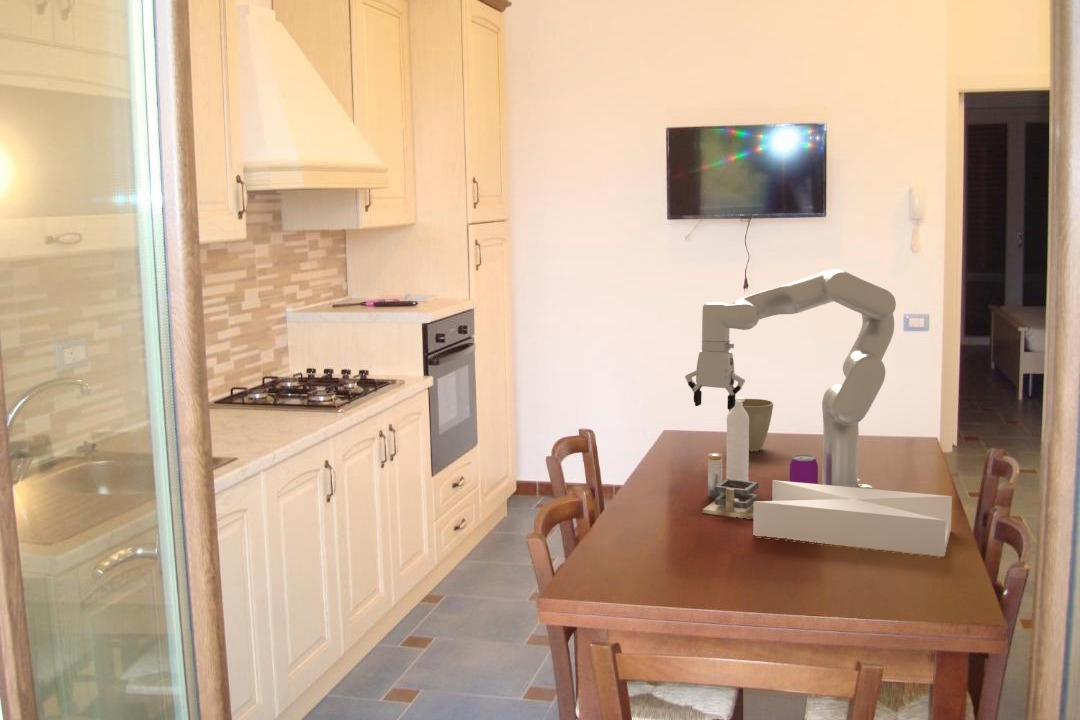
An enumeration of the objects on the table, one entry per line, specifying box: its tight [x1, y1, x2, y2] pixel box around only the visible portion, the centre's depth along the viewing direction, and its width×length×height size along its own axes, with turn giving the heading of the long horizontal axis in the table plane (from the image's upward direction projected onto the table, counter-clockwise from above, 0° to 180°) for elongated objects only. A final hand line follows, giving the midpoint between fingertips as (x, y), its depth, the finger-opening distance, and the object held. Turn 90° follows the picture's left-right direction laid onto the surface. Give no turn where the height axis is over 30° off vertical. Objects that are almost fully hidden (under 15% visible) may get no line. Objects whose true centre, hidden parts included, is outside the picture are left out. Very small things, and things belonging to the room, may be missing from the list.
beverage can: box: [788, 454, 819, 484], centre depth 303 cm, size 8×8×12 cm
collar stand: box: [702, 478, 759, 520], centre depth 294 cm, size 14×14×7 cm
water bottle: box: [725, 396, 750, 486], centre depth 319 cm, size 9×6×25 cm
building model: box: [752, 479, 953, 557], centre depth 272 cm, size 45×22×10 cm, turn 66°
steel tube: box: [707, 452, 724, 499], centre depth 307 cm, size 4×4×12 cm
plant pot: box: [728, 398, 774, 453], centre depth 361 cm, size 15×15×16 cm
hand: (714, 406), depth 304 cm, fingers open, 9 cm apart
